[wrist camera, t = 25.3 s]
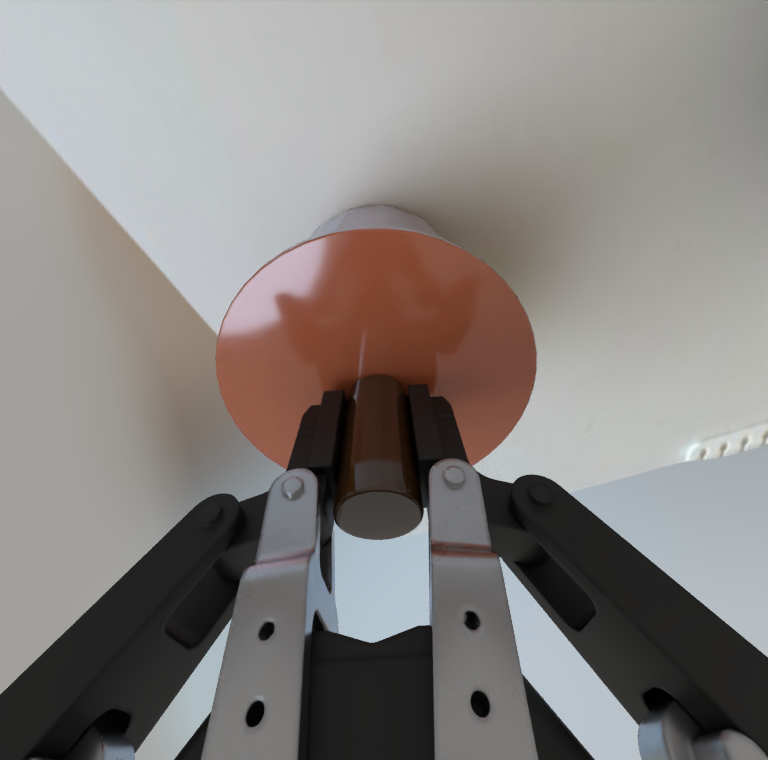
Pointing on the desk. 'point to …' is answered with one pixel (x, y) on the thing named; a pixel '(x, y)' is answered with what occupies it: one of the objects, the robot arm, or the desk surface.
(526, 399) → the lid
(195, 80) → the desk surface
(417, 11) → the desk surface
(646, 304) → the desk surface
